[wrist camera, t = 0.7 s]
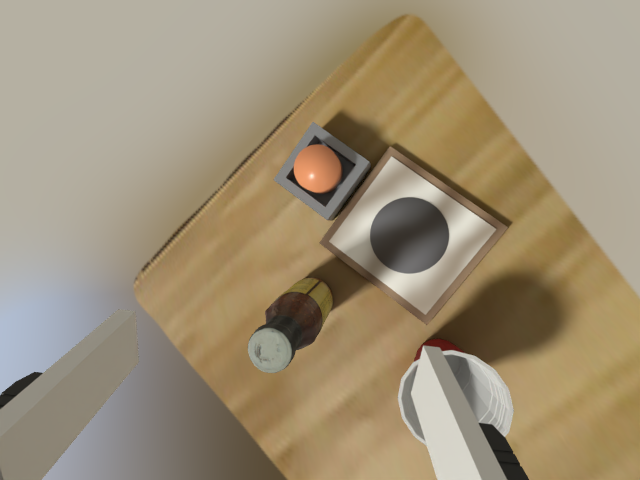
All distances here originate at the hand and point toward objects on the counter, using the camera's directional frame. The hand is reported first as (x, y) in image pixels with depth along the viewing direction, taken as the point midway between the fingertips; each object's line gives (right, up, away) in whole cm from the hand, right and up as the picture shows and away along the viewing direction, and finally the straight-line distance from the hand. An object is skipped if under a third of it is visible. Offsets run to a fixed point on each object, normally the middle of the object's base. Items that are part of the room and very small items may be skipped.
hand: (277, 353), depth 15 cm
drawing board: (+14, +6, +29) cm, 33 cm away
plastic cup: (+18, -11, +30) cm, 36 cm away
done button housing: (+3, +14, +31) cm, 34 cm away
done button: (+2, +14, +28) cm, 32 cm away
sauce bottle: (+1, -3, +33) cm, 33 cm away
